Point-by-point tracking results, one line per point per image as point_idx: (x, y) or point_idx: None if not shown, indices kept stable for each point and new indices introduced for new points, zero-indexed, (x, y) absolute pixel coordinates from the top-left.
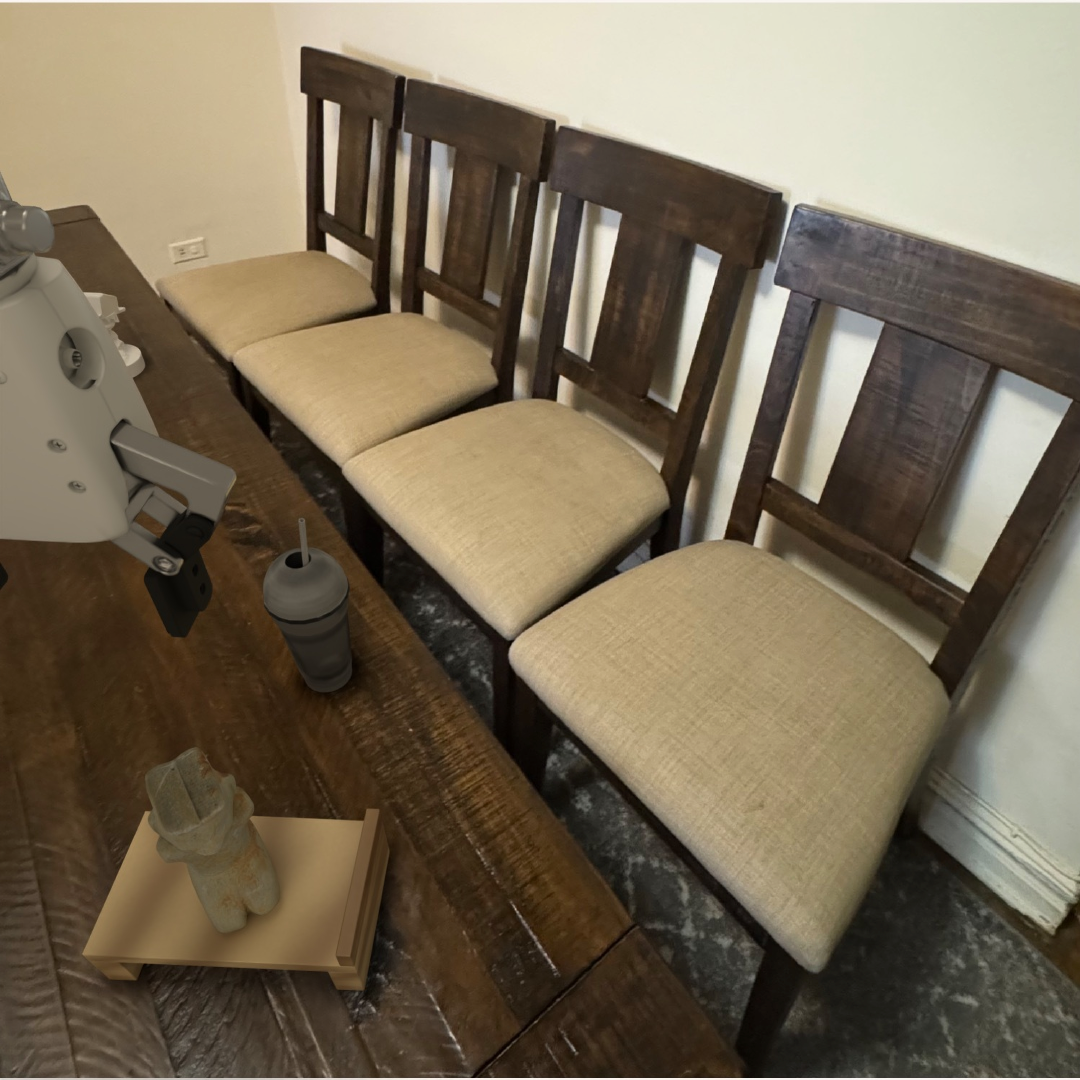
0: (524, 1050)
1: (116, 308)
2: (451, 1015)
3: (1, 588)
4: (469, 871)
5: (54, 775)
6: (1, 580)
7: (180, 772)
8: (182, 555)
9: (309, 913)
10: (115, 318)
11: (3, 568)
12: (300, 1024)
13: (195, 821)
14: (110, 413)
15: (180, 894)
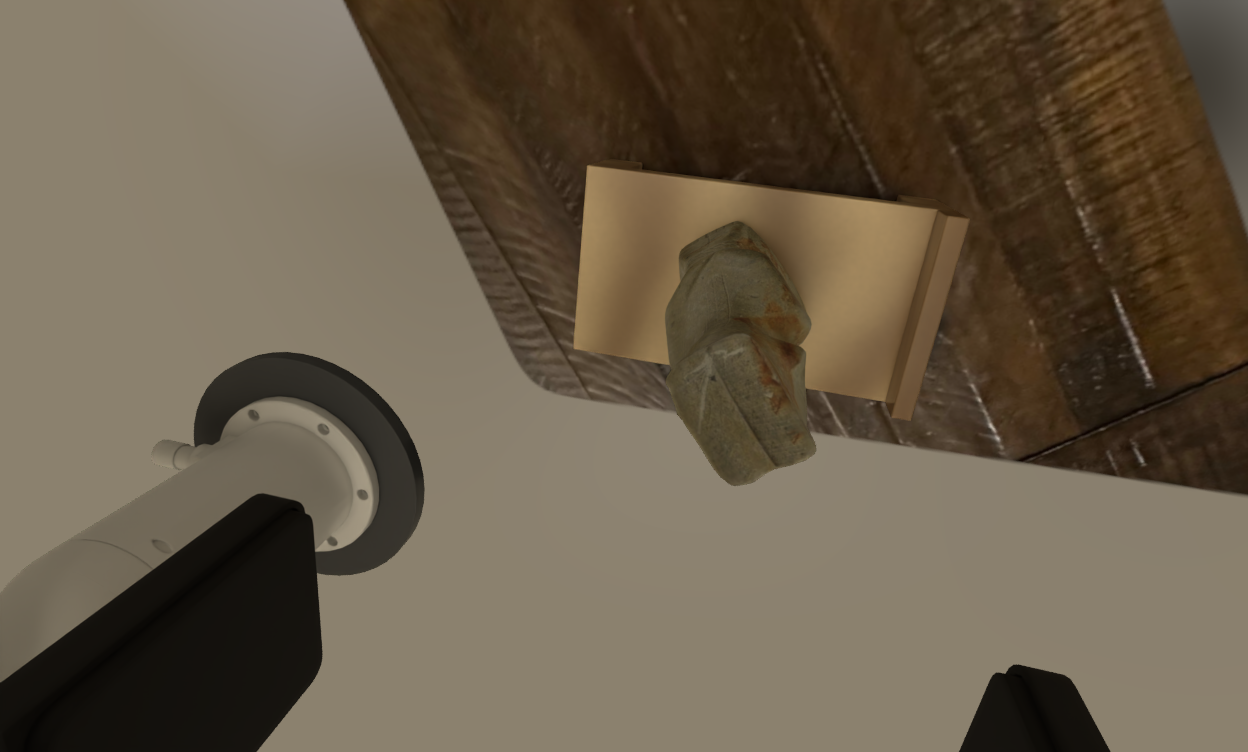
0: (1078, 453)
1: None
2: (994, 409)
3: (314, 549)
4: (1058, 241)
5: (420, 39)
6: (299, 545)
7: (729, 389)
8: None
9: (843, 336)
10: None
11: (279, 532)
12: (813, 393)
13: (769, 467)
14: None
15: (668, 293)
